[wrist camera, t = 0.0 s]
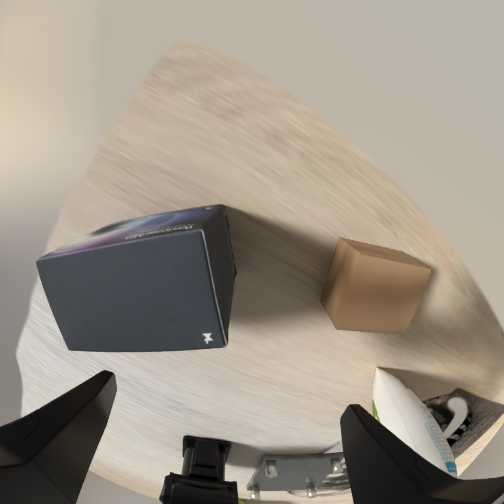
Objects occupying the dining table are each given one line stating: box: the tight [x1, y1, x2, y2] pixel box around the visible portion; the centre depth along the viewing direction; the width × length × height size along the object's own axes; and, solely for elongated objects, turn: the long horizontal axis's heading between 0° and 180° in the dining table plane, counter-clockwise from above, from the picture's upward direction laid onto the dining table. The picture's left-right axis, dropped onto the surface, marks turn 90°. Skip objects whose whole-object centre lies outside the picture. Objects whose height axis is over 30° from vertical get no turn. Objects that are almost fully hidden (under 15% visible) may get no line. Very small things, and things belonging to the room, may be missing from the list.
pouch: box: [373, 367, 457, 478], centre depth 20 cm, size 8×19×20 cm, turn 27°
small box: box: [36, 204, 237, 352], centre depth 17 cm, size 11×6×10 cm, turn 98°
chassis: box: [247, 452, 344, 500], centre depth 32 cm, size 14×13×3 cm
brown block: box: [321, 237, 432, 334], centre depth 21 cm, size 6×7×5 cm
